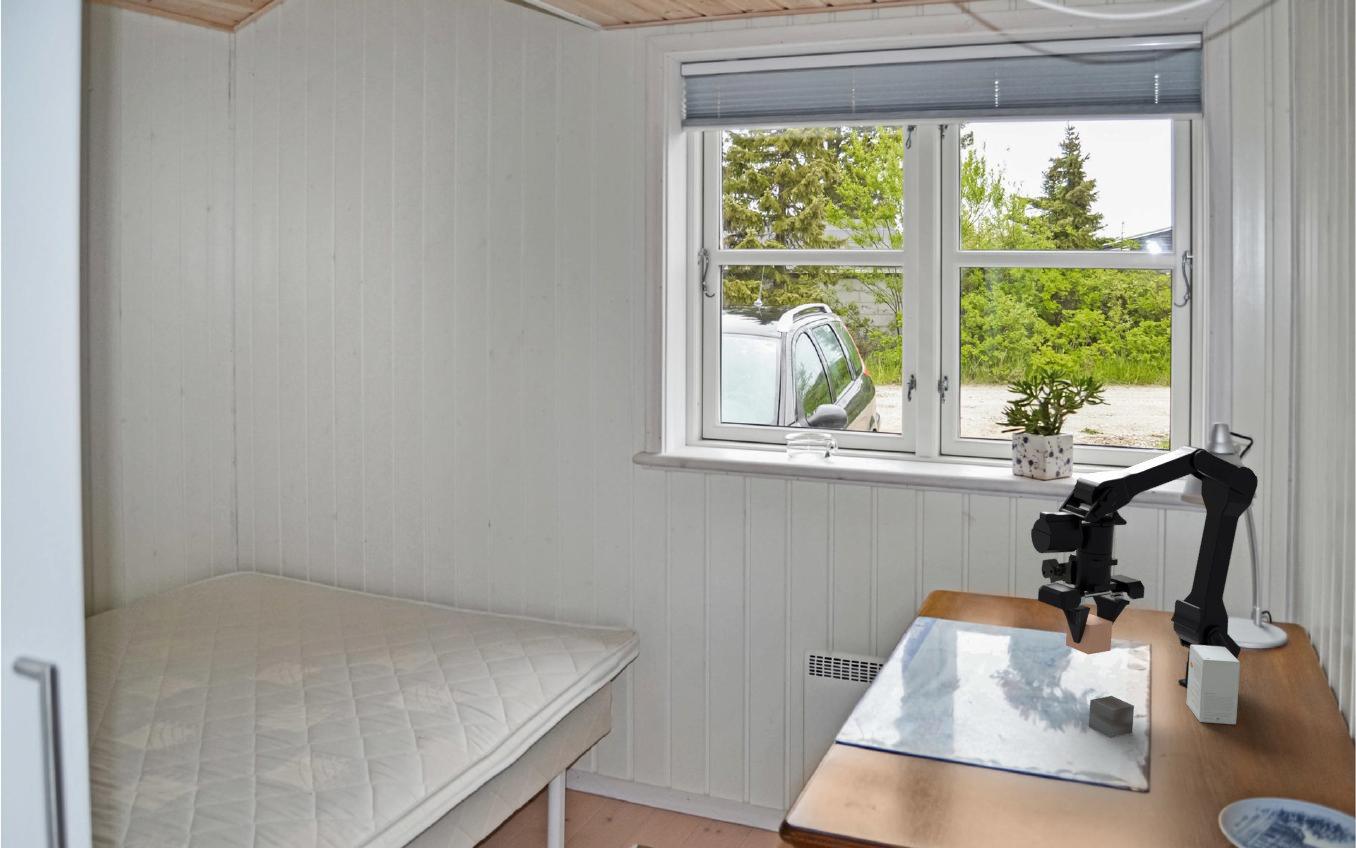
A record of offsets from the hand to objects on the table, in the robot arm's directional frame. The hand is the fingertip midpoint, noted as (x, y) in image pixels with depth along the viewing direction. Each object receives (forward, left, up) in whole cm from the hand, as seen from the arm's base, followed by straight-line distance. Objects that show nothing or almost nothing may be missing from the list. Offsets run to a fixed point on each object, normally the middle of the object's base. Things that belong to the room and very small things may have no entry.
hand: (1088, 640), depth 180 cm
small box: (-13, +14, -10) cm, 22 cm away
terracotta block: (0, 0, -1) cm, 1 cm away
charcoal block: (+7, +12, -10) cm, 17 cm away
